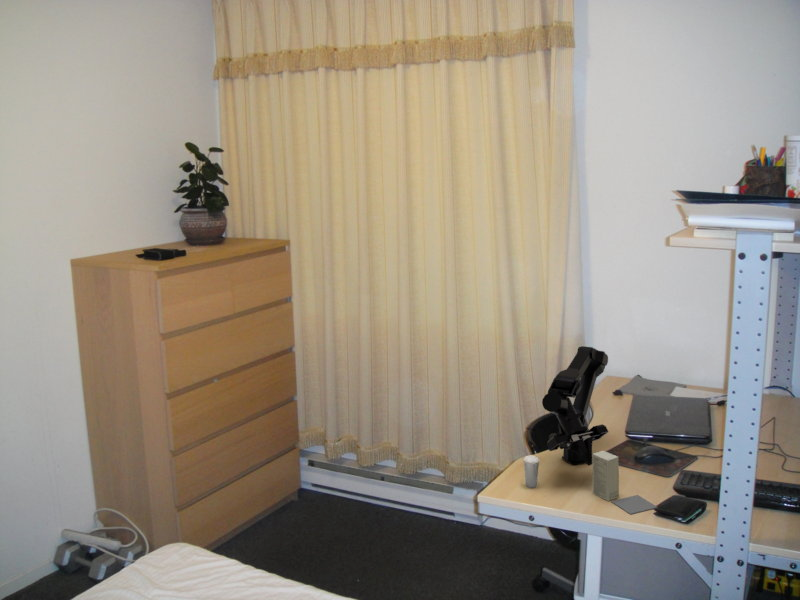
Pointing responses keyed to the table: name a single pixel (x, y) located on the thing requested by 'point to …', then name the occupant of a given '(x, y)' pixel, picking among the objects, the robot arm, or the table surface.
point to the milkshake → (531, 470)
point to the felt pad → (634, 504)
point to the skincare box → (605, 475)
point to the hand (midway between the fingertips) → (590, 464)
